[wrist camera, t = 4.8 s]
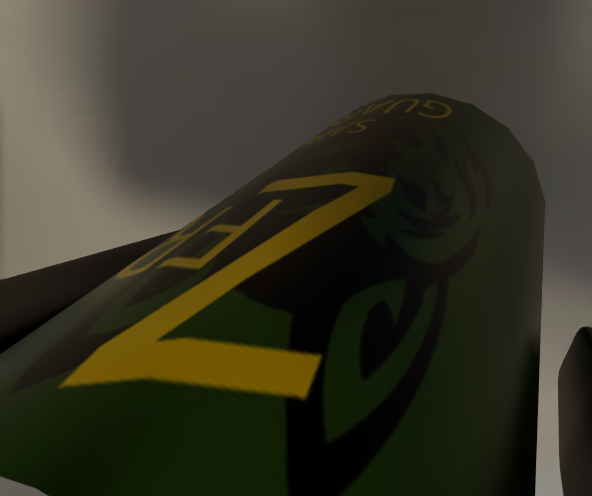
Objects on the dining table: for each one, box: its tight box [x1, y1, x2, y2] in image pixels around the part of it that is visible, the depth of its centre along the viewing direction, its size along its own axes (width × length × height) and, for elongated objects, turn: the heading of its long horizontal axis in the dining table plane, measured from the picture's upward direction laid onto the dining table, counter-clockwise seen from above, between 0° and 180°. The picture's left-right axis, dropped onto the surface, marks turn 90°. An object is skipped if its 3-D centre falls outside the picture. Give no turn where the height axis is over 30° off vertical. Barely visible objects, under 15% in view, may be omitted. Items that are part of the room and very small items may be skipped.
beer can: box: [0, 93, 545, 496], centre depth 8 cm, size 5×5×12 cm
